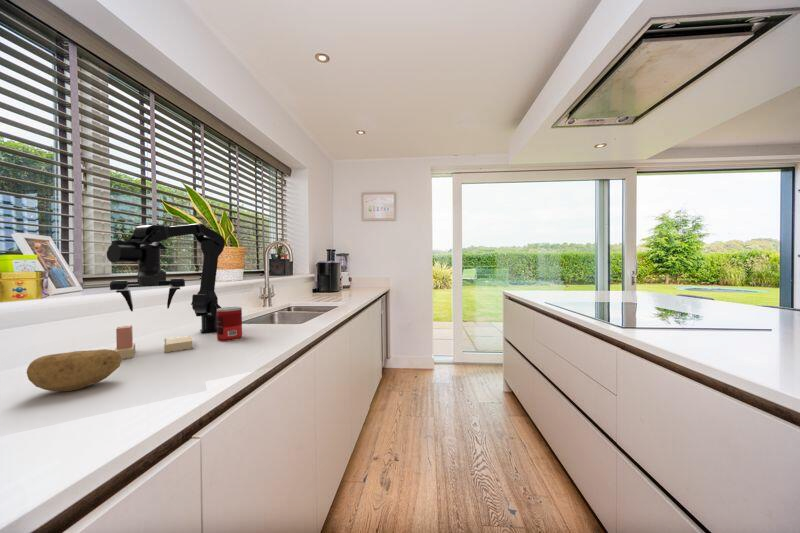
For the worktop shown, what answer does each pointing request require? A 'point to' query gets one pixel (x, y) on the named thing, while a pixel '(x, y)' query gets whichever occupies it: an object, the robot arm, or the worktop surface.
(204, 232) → the robot arm
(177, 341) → the hinged cream panel
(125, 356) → the stub
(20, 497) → the worktop surface
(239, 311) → the canned food
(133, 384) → the worktop surface
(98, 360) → the potato
